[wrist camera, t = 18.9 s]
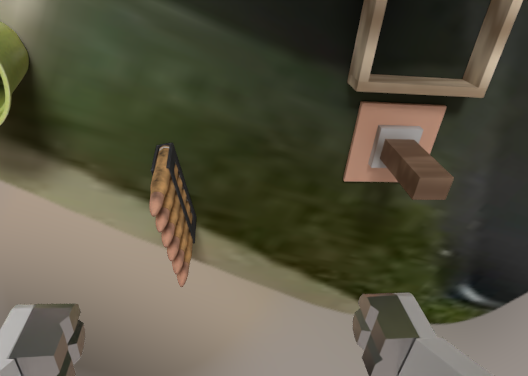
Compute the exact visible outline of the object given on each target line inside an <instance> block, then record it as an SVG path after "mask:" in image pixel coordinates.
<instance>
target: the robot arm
mask: <svg viewBox="0 0 528 376" xmlns="http://www.w3.org/2000/svg"><path fill="white" fill-rule="evenodd" d="M358 304H359V306H360V309H359V310H358V311H356V312H355V314H354V318H353V332H354V337H355V340H356V342H357V344H358V345H359V346H360V347H361V348H362V349H364V353H363V356H362V359H363V361H364V364H365V367H366V369H367V372H368V375H369V376H495V375H493V374H492V373H490V372H489V371H488V370H486V369H485V368H484V367H482V366H481V365H479V364H478V363H477V362H475V361H474V360H473V359H471V358H470V357H469V356H467V355H466V354H464V353H463V352H462V351H460V350H459V349H458V348H456V347H455V346H453V345H452V344H451V343H449V342H448V341H447V340H445V339H444V338H442V337H437V335H436V334H435V332H434V330H433V329H432V327H431V325H430V323H429V322H428V320H427V318H426V317H425V315H424V313H423V311H422V310H421V308H420V306H419V305H418V303H417V301H416V300H415V298H414V296H413V295H412V294H411V293H380V294H363V295H362V296H361V297H360V299H359V302H358ZM80 313H81V312H80V308H79V305H78V304H22V305H21V304H19V305H16V306H15V307H14V308H13V309H12V310H11V311H10V313H9V315H8V316H7V319H6V320H5V322H4V324H3V326H2V327H1V329H0V376H75V375H76V373H75V369H74V366H73V365H74V364H75V363H76V362H77V361H78V360H79V359H80V358H81V355H82V352H83V348H84V342H85V328H84V323H83V322H81V321H80V320H78V319H79V316H80Z"/></svg>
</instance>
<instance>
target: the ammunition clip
mask: <svg viewBox="0 0 528 376" xmlns="http://www.w3.org/2000/svg"><path fill="white" fill-rule="evenodd" d="M151 172H152V174H153V178H152V182H151V195H150V212H151V215H152V216H153V217H154V216H156V227H157V230H158V232H162V242H163V245H164V247H167V254H168V258H169V260H170V261H172V266H173V270H174V272H175V274H177V278H178V283H179V285H180V286H181V287H183V285H184V284H185V282H186V279H187V276H188V270H189V263H190V260H191V256H192V243H195V230H196V214H195V211H194V208H193V205H192V202H191V198H190V195H189V192H188V189H187V186H186V183H185V179H184V176H183V173H182V170H181V167H180V164H179V160H178V157H177V154H176V151H175V148H174V145H173V143H167V144H161V145H157V146H156V150H155V154H154V159H153V163H152V168H151Z"/></svg>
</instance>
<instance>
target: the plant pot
mask: <svg viewBox="0 0 528 376" xmlns="http://www.w3.org/2000/svg"><path fill="white" fill-rule="evenodd" d="M28 65H29V58H28V53H27V50H26V49H25V47H24V45H23V44H22V42H21V40H20V39H19V37H18V36H17V34H16V33H15V32H14V31H13V30H12V29H11V28H9V27H8V26H7V25H5V24H4V23H2V22H0V125H1V124H2V123H3V122H4V120H5V119H6V117H7V115H8V113H9V111H10V107H11V94H12V93H13V91H14V90H15V89H16V87H17V86H18V84H19V83H20V82H21V80H22V79H23V77H24V76H25V74H26V72H27V70H28Z"/></svg>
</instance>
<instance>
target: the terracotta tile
mask: <svg viewBox="0 0 528 376" xmlns="http://www.w3.org/2000/svg"><path fill="white" fill-rule="evenodd" d="M446 108H447V106H445V105H431V104H410V103H388V102H367V101H361V103H360V107H359V112H358V116H357V120H356V125H355V129H354V133H353V137H352V142H351V146H350V150H349V155H348V159H347V163H346V168H345V172H344V176H343V180H344V181H353V182H398V181H397V180H396V178H395V177H394V176H393V174H392V173H391V172H390V171H389V169H388V168H371V167H370V165H369V164H368V162H369V158H370V155H371V151H372V147H373V143H374V139H375V136H376V132H377V128H378V125H401V126H420V127H421V128H422V129H423V133H422V136H421V139H420V142H419V145H420V146H421V147H422V148H423V149H424V150H425V151H427V152H428V153H429V154H430V152H431V150H432V147H433V144H434V141H435V139H436V136H437V133H438V130H439V127H440V125H441V122H442V119H443V116H444V113H445V111H446Z"/></svg>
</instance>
